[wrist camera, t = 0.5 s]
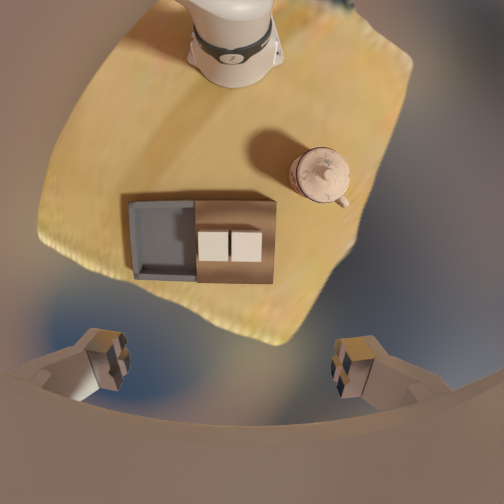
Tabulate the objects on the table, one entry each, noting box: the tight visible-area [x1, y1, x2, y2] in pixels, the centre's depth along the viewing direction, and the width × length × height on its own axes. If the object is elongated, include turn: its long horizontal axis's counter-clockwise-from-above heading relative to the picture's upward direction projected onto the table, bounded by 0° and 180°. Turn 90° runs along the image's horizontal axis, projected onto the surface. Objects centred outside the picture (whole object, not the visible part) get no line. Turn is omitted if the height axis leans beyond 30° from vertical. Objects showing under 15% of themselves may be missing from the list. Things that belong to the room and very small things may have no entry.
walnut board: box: [195, 199, 276, 284], centre depth 50 cm, size 15×14×4 cm
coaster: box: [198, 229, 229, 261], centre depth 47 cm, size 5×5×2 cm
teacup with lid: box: [289, 147, 350, 208], centre depth 44 cm, size 12×9×12 cm
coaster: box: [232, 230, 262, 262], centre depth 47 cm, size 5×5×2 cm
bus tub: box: [128, 199, 199, 282], centre depth 50 cm, size 15×13×4 cm
